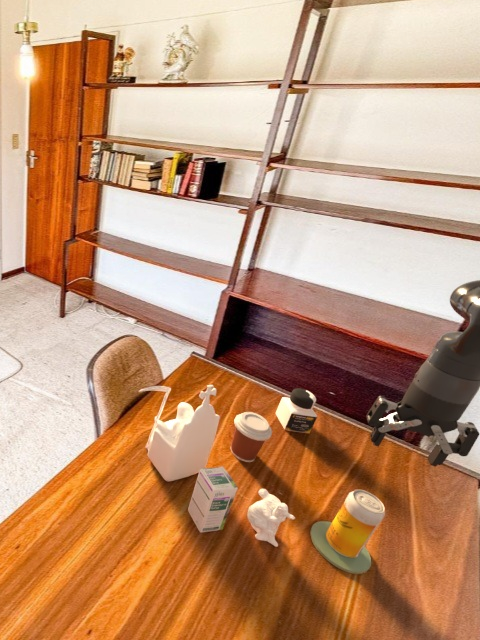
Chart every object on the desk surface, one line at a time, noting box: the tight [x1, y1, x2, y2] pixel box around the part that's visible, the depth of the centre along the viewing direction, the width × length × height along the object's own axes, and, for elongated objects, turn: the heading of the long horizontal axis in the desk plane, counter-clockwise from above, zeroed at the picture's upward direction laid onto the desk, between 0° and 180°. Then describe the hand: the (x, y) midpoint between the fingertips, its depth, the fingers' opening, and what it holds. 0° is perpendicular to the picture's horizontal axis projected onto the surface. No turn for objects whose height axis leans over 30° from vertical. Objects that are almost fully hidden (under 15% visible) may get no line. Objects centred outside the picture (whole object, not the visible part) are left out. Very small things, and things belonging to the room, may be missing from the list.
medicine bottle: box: [275, 387, 318, 434], centre depth 119 cm, size 7×7×12 cm
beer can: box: [326, 489, 386, 557], centre depth 85 cm, size 6×6×15 cm
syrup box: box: [187, 465, 238, 534], centre depth 90 cm, size 6×6×14 cm
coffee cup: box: [229, 411, 273, 463], centre depth 109 cm, size 9×9×12 cm
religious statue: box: [138, 384, 221, 482], centre depth 102 cm, size 17×14×30 cm
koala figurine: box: [246, 488, 296, 548], centre depth 88 cm, size 8×7×12 cm
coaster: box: [309, 520, 372, 575], centre depth 88 cm, size 11×11×1 cm
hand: (402, 452), depth 77 cm, fingers open, 8 cm apart
